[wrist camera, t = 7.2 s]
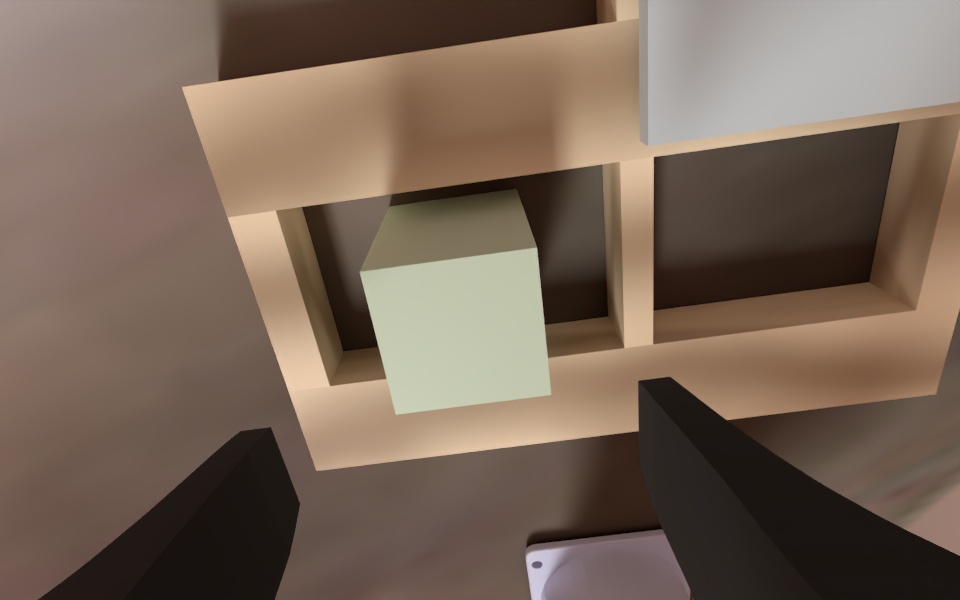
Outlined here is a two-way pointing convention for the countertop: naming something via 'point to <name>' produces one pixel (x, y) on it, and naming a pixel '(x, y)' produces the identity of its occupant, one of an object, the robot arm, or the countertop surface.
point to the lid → (789, 62)
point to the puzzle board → (628, 239)
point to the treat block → (458, 303)
